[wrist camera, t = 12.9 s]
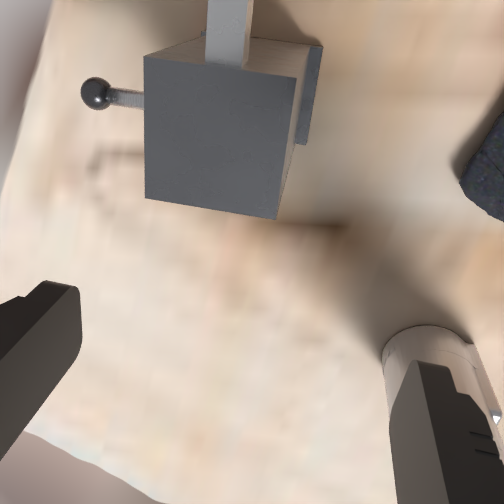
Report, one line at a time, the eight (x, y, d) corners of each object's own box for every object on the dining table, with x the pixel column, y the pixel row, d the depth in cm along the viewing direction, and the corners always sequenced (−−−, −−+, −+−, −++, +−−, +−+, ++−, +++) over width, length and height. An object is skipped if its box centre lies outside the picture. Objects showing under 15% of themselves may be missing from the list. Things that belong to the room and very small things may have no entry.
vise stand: (352, -124, 32) (368, -222, 17) (306, 142, 42) (292, 222, 27) (130, -147, 33) (-28, -258, 19) (136, 115, 43) (33, 179, 28)
